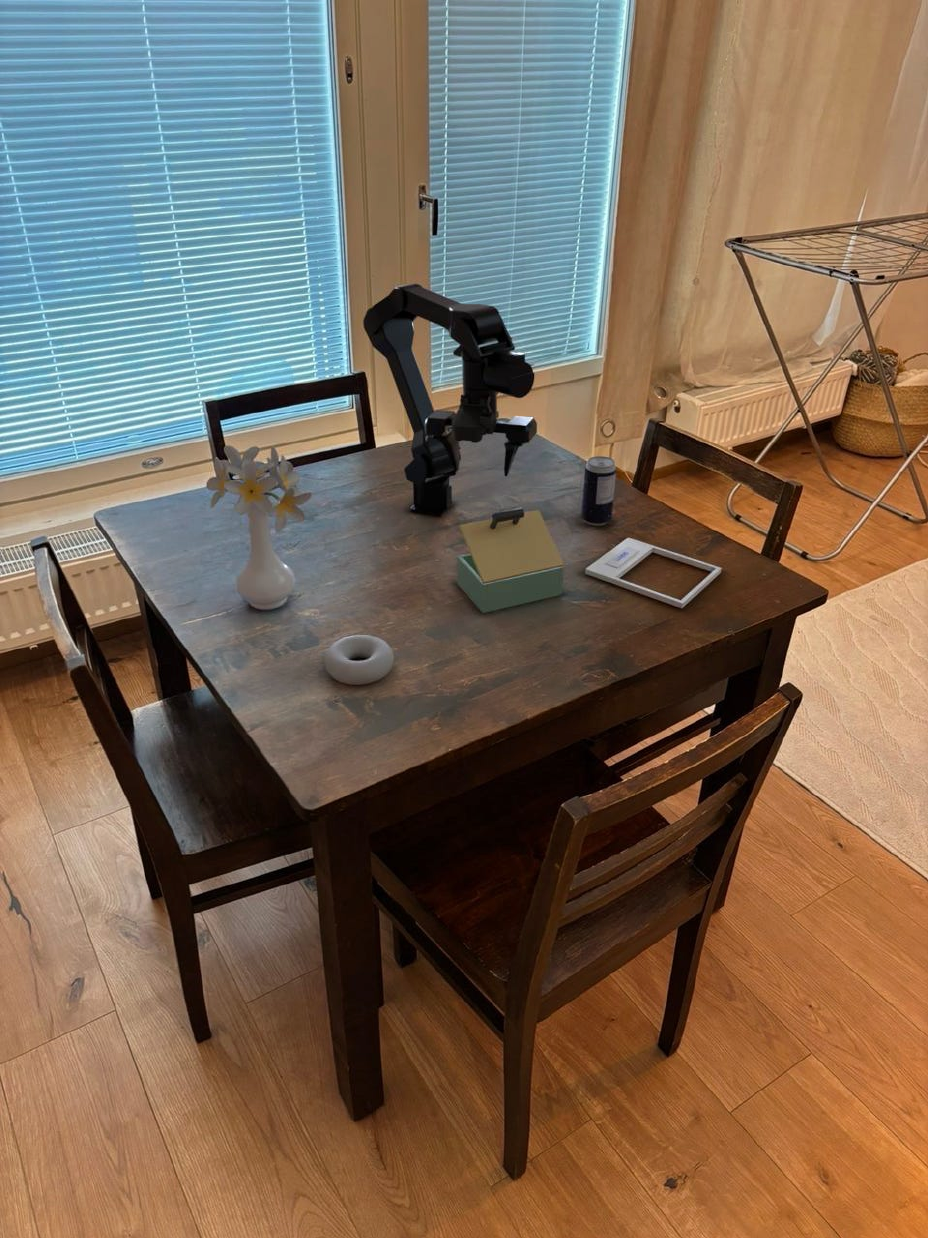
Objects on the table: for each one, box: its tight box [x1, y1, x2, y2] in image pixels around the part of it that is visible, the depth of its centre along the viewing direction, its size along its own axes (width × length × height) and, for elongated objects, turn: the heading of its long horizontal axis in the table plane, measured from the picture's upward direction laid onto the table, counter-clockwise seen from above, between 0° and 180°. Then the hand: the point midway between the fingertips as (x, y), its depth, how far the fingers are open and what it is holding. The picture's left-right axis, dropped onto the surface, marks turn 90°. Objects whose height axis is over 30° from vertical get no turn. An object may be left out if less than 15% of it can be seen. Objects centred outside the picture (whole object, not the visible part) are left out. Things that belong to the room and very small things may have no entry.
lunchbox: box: [456, 553, 564, 614], centre depth 150 cm, size 10×14×5 cm
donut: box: [323, 634, 395, 686], centre depth 132 cm, size 10×4×10 cm
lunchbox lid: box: [459, 507, 565, 584], centre depth 145 cm, size 11×14×4 cm
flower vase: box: [205, 445, 312, 611], centre depth 141 cm, size 13×18×25 cm
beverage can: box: [580, 455, 617, 527], centre depth 170 cm, size 6×6×12 cm
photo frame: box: [584, 537, 723, 609], centre depth 156 cm, size 15×1×18 cm
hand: (481, 473), depth 162 cm, fingers open, 9 cm apart
